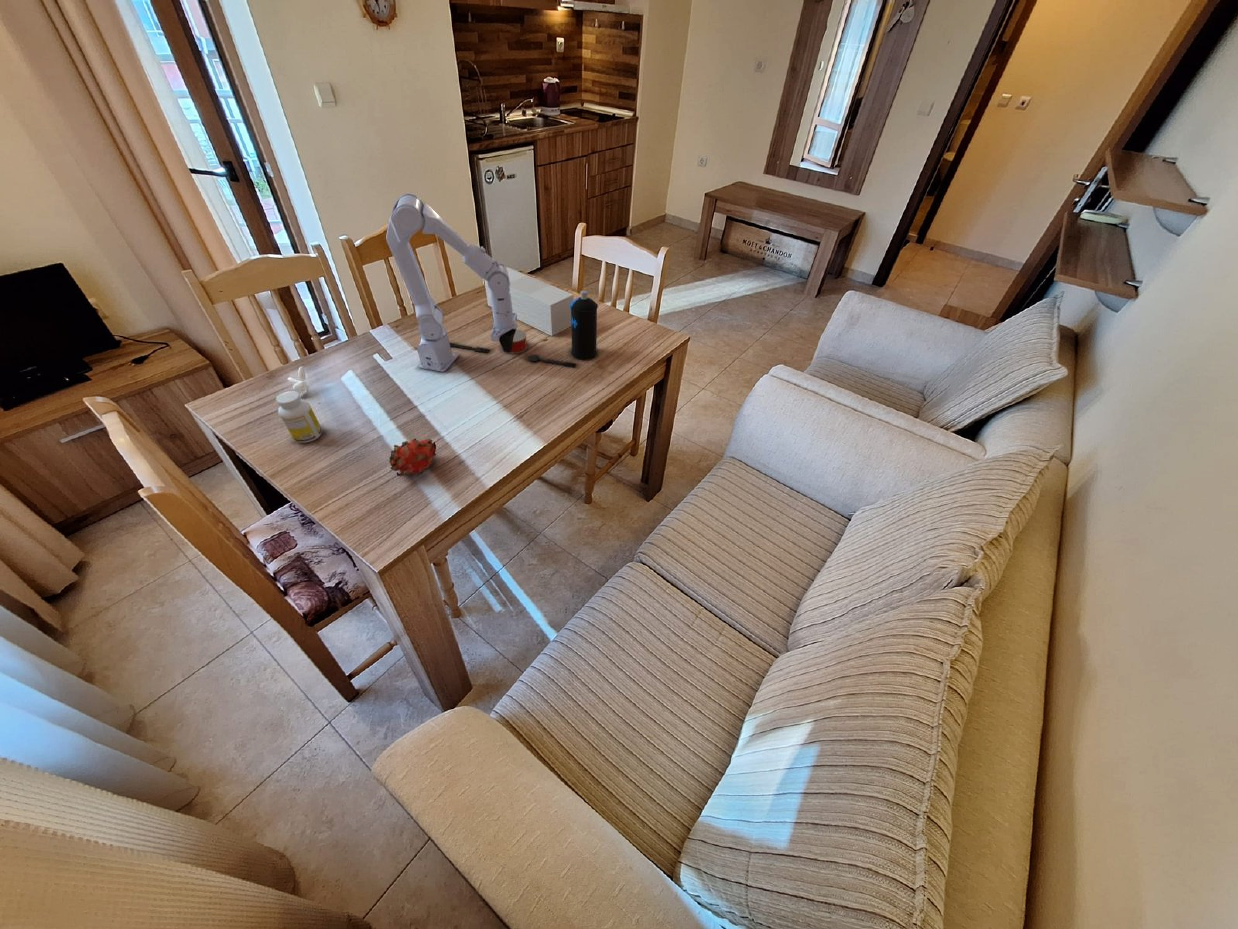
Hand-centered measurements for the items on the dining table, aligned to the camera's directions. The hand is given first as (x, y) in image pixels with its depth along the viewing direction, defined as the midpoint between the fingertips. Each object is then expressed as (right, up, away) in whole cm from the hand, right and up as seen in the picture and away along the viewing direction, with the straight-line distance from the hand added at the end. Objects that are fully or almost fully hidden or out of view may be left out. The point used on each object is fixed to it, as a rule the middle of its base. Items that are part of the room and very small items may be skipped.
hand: (507, 351), depth 146 cm
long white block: (+3, +18, +21) cm, 27 cm away
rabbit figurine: (-52, -14, -16) cm, 56 cm away
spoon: (+14, -3, -1) cm, 14 cm away
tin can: (+1, +2, +5) cm, 5 cm away
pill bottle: (-42, -28, -29) cm, 58 cm away
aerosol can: (+23, 0, +4) cm, 24 cm away
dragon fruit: (-13, -36, -35) cm, 52 cm away
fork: (-14, +2, +3) cm, 14 cm away
